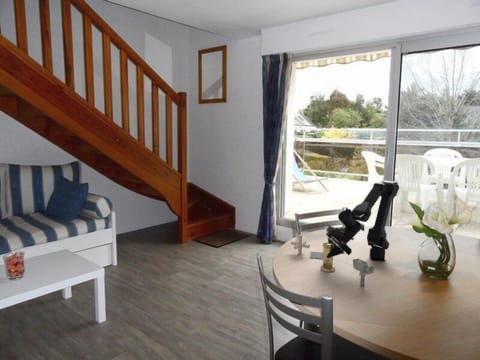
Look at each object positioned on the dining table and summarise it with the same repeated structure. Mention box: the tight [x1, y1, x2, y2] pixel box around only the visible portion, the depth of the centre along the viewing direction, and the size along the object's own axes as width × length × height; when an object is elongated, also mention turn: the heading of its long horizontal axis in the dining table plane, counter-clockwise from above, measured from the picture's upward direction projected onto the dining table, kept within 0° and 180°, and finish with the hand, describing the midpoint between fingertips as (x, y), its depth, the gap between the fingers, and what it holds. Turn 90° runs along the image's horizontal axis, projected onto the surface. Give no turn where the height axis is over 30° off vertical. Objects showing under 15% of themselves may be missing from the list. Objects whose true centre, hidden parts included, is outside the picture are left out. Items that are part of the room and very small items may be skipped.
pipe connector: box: [290, 234, 311, 256], centre depth 187 cm, size 10×10×10 cm
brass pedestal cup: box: [320, 241, 336, 273], centre depth 167 cm, size 6×6×12 cm
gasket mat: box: [309, 251, 323, 260], centre depth 185 cm, size 9×9×1 cm
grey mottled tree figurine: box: [352, 258, 375, 287], centre depth 150 cm, size 3×10×10 cm, turn 27°
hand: (325, 255), depth 167 cm, fingers closed on brass pedestal cup, 4 cm apart
